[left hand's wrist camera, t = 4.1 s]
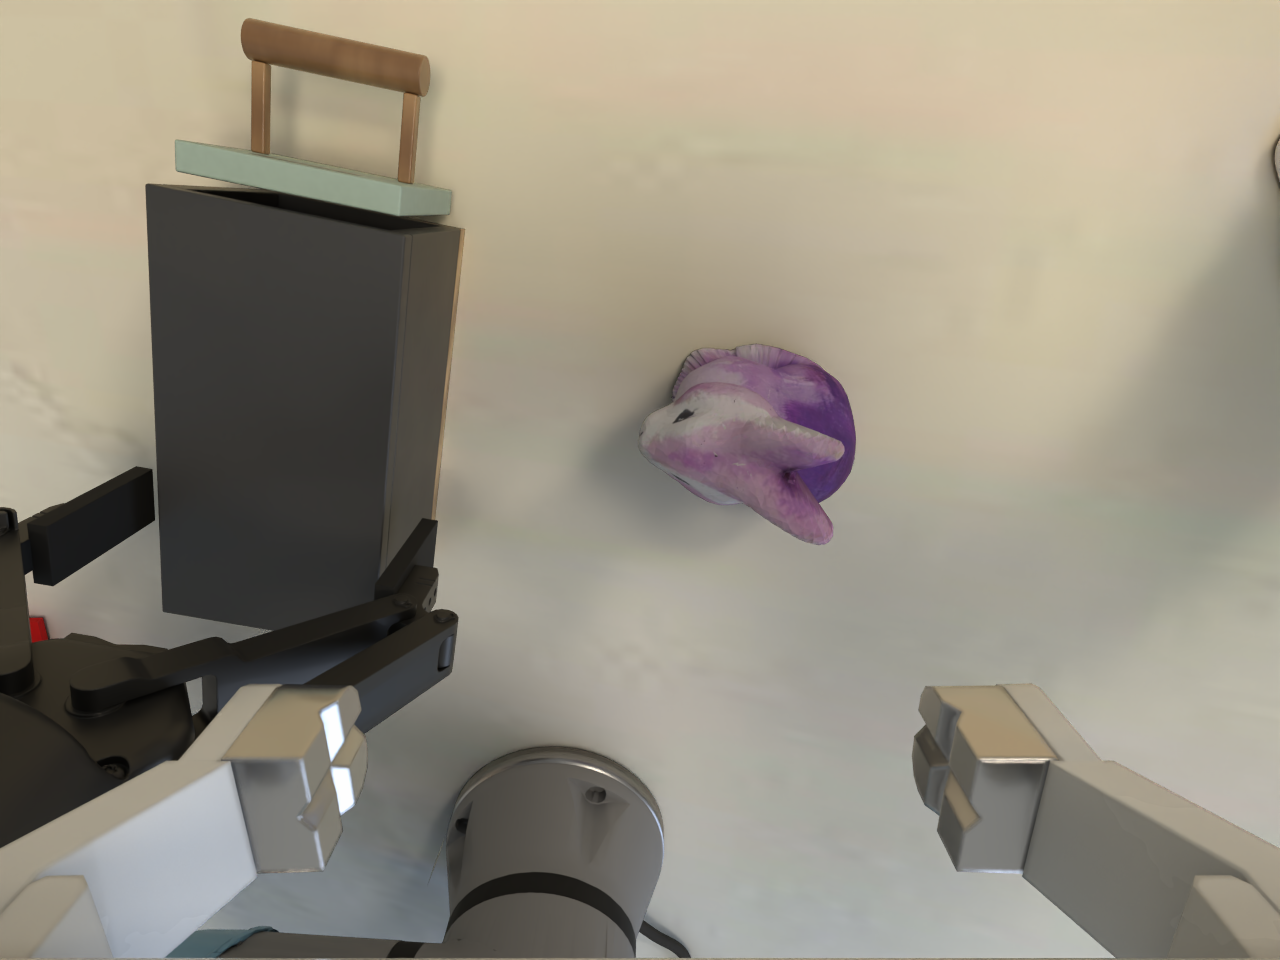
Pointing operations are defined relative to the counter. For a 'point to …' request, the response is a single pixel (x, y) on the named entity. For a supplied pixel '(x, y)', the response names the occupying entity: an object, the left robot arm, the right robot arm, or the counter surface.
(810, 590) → the counter surface
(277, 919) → the counter surface
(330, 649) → the right robot arm
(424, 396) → the cabinet
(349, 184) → the drawer
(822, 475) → the figurine
